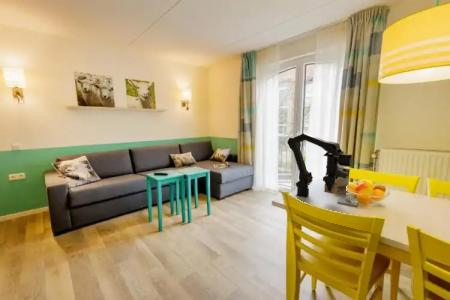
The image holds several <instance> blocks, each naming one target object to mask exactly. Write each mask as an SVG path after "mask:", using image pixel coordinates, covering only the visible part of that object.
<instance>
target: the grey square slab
mask: <svg viewBox="0 0 450 300" xmlns="http://www.w3.org/2000/svg"><path fill="white" fill-rule="evenodd" d="M358 203H359V200H358V201H357V200H356V198H351V193H350V192H348V193H346V194H345V197H344V196H338V199H337V204H340V205H344V206H351V207H354V208H355V207H356V208H357V207H358Z"/></svg>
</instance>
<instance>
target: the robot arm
mask: <svg viewBox="0 0 450 300" xmlns="http://www.w3.org/2000/svg"><path fill="white" fill-rule="evenodd" d="M304 141H305V142H308V143H310V144H312V145H313V144H314V145H315V146H318V147H320V148H321V149H323V150H324V151H325V153H324V154H322V155H323V157H326V166H325V169H326V171H325V175H324V176H322V181H323V182H324V185H325V184H326V186H327V188H328V191H330V192H331V189H332V185H333V183H335V182H336V179H337V178H338V177H337V175H338V176H340V177H342V178H344V179H346V177H347V175H348V172H347V169H348V167H349V168H352V167H353V165H354V157H353V154H352V153H351V154H347V153H346V154H344V153H343V152H342V151H343V150H342V149H341V146H340V143H338V142H333V141H328V140H324V139H323V138H319V137H316V136H314V135H311V134H309V133H308V132H305V133H301V134H300V135H297V136H292V137H289V138H288V139H287V141H286V142H287V145H288V147H289V149H290V150H291V151H292V152H293V156H294V159H295V162H296V165H297V169H298V181H297V182H296V183H295V186H296V187H297V190H296V195H295V196H299V197H303V198H304V197H305V198H307V197H308V196H309V194H310V188H309V186H310V185H311V184H312V182H313V178H314V177H313V174H312V172H311V171H310V172H309V171H308V169H307V166H306V163H305V159H304V157H303V154H302V150H301V147H302V144H301V142H304ZM330 153H332V154H330ZM338 164H339V165H341V166H344V169H339V166H338ZM345 167H347V168H345Z"/></svg>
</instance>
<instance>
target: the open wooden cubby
mask: <svg viewBox="0 0 450 300" xmlns="http://www.w3.org/2000/svg"><path fill="white" fill-rule="evenodd" d="M323 192H324V193H328V194H332V195H333V194H334V195H336V194H337V193H338V192H337V183H333V185H332V189H331V192H330V191H328V188H327V186H326V184H325V183H324V190H323Z"/></svg>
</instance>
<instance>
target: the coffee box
mask: <svg viewBox="0 0 450 300" xmlns="http://www.w3.org/2000/svg"><path fill="white" fill-rule="evenodd" d="M344 168H345V167H344ZM344 168H339V169H344ZM346 169H347V172H348V175H347V177H346V179H344V178H342V177H340V176H338V175H337V177H338V178H337V179H336V182H335V183H337V192H336V193H338V194H339V193H340V194H345V195H346V193H347V191H346V186H347V185H348V186H349V183H350V172H351V171H350V170H351V169H350V168H346Z"/></svg>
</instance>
